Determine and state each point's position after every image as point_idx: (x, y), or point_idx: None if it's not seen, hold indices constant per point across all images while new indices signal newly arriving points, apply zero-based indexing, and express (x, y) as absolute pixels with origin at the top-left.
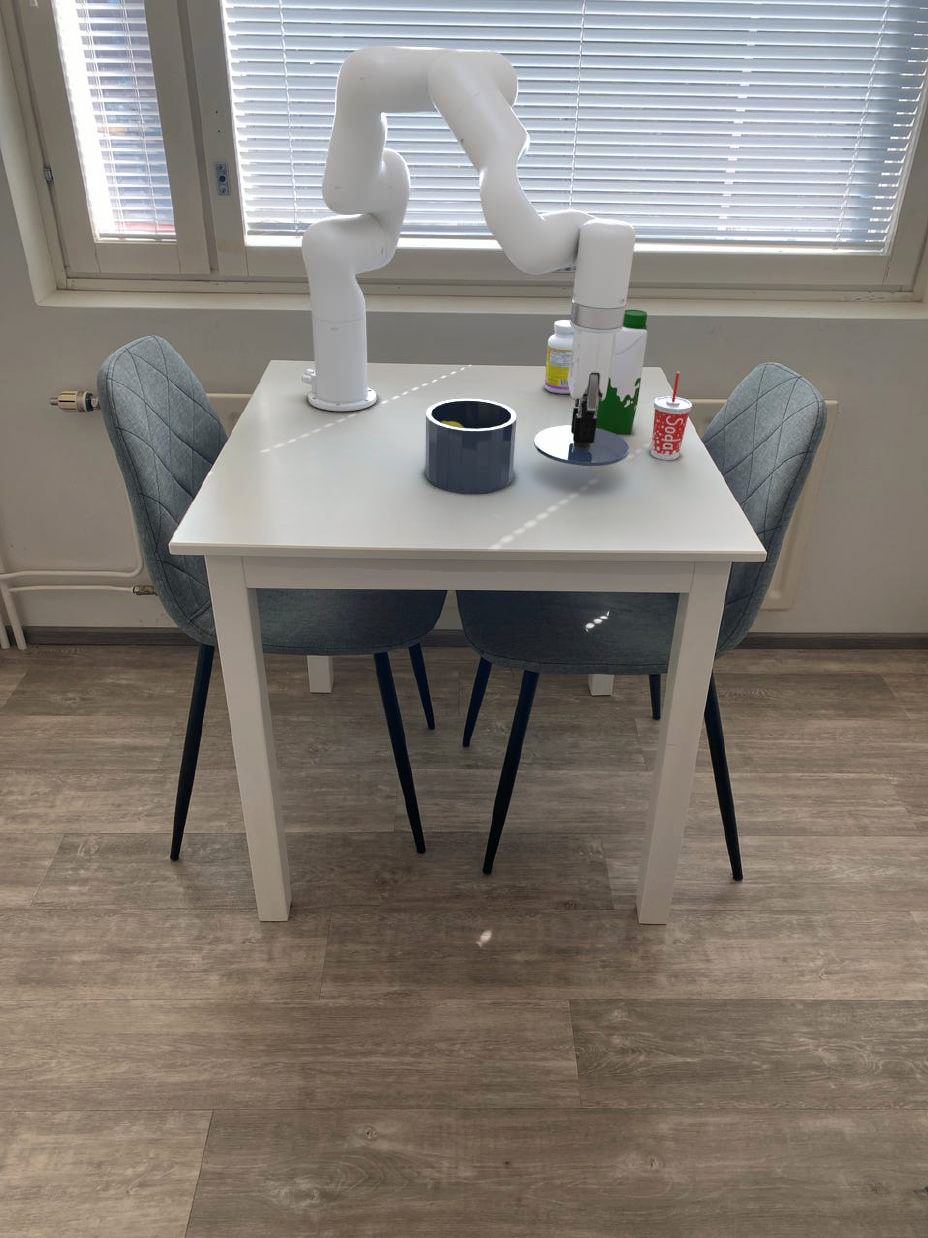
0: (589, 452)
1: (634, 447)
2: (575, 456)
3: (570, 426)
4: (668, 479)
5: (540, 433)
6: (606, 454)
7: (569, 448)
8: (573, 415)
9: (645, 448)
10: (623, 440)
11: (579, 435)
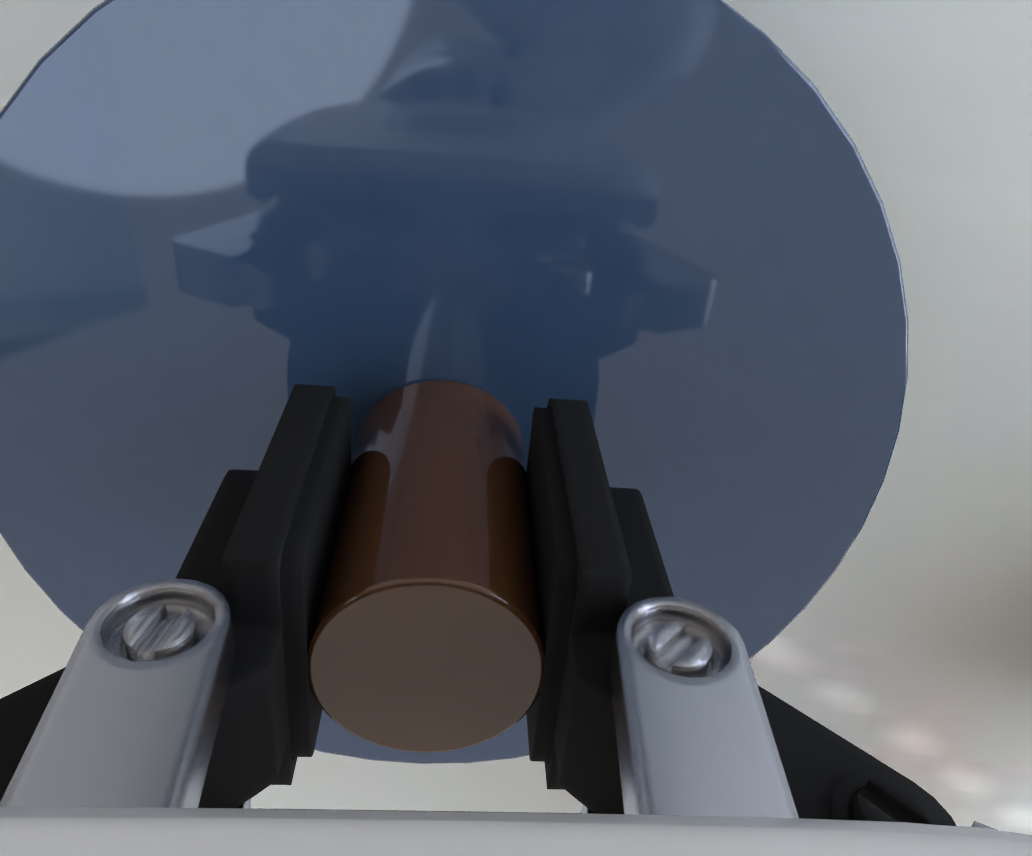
0: (216, 486)
1: (899, 687)
2: (74, 348)
3: (874, 409)
4: (462, 763)
5: (712, 35)
6: None
7: (278, 318)
8: (569, 516)
9: (873, 730)
10: (524, 745)
11: (230, 477)
